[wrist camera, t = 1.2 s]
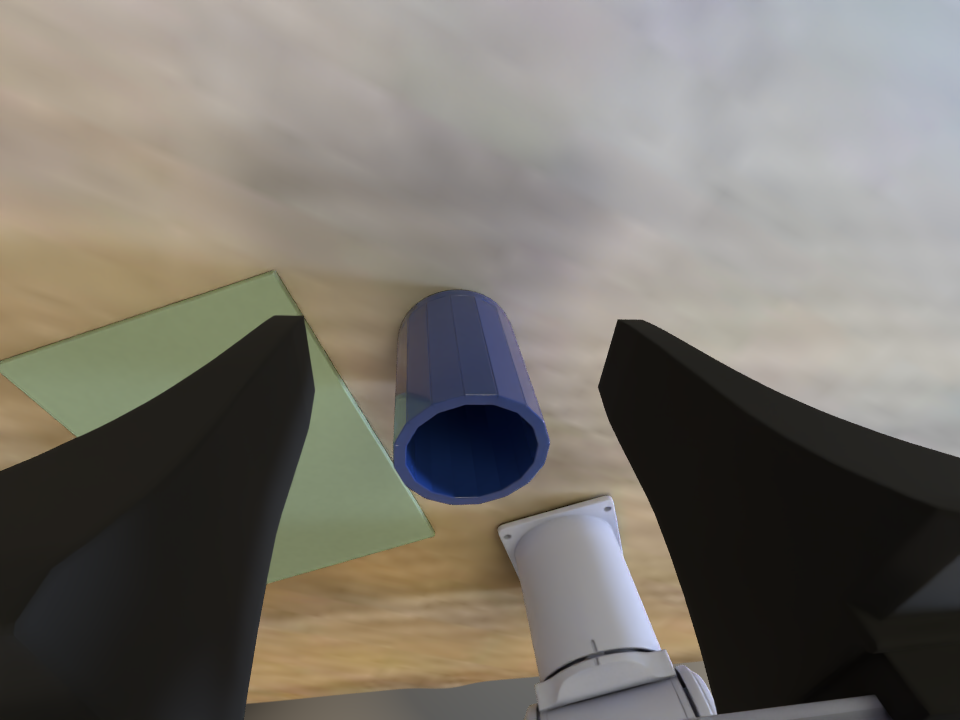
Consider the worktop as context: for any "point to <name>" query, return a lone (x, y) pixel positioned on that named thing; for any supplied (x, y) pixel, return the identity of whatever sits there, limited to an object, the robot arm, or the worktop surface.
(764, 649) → the robot arm
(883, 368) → the worktop surface
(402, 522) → the sage mat
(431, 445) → the blue cup
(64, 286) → the worktop surface
